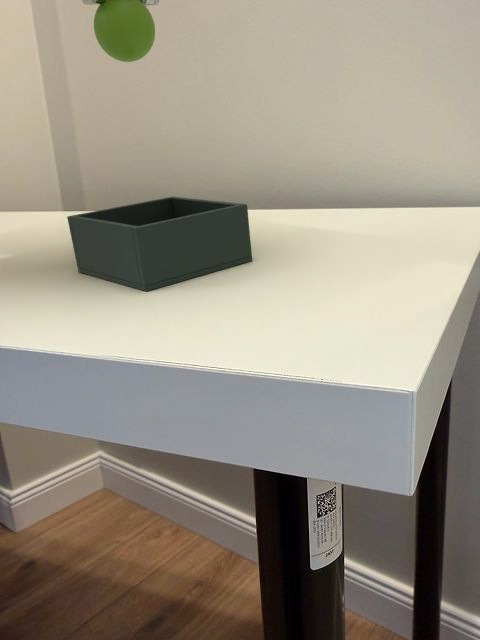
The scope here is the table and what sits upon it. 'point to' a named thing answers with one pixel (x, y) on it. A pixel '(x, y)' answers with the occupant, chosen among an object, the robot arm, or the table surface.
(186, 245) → the bin
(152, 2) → the robot arm
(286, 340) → the table surface
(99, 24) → the snail figurine
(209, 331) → the table surface
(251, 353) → the table surface
